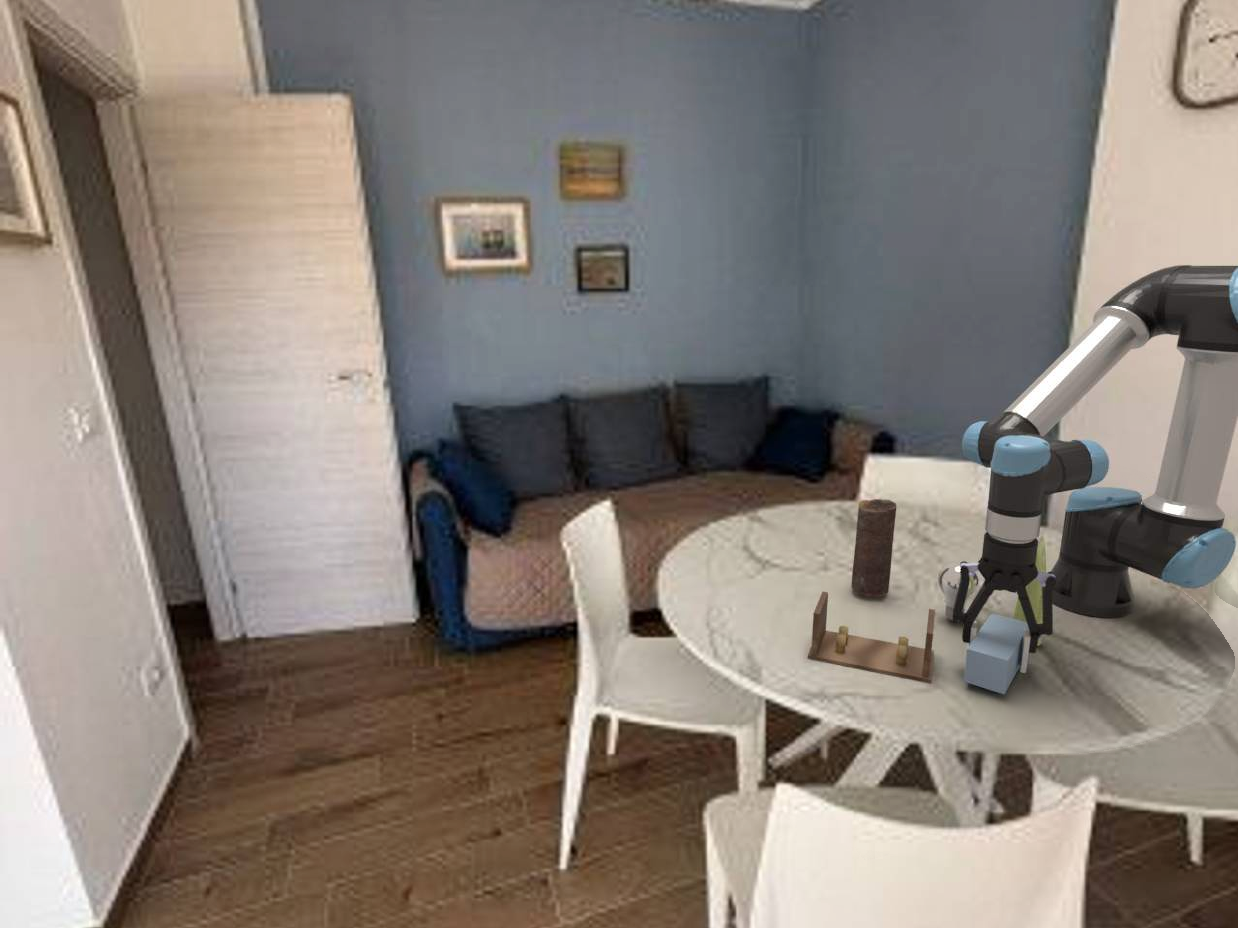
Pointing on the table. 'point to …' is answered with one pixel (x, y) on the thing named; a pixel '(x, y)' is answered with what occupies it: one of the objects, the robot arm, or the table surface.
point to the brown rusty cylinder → (873, 547)
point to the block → (995, 653)
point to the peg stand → (871, 649)
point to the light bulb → (954, 586)
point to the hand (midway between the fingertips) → (996, 663)
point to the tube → (1034, 590)
